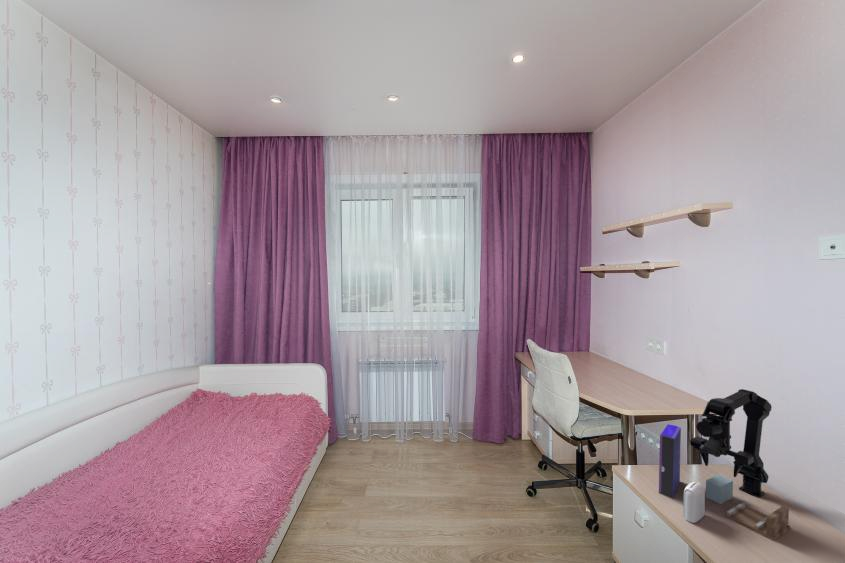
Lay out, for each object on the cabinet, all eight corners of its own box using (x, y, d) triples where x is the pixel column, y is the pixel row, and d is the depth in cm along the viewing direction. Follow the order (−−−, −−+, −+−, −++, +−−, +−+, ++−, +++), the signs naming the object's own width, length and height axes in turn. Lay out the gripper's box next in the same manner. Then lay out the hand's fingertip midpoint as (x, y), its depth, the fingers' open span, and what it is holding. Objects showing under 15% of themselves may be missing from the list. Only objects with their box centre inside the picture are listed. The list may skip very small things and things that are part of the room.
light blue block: (718, 491, 146) (718, 474, 146) (732, 497, 142) (733, 480, 142) (705, 497, 142) (706, 480, 142) (720, 504, 137) (720, 486, 137)
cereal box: (666, 477, 156) (667, 423, 156) (679, 481, 153) (680, 427, 153) (658, 493, 144) (659, 435, 144) (672, 498, 140) (674, 439, 141)
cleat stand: (740, 505, 136) (740, 488, 137) (790, 528, 124) (790, 508, 124) (723, 515, 130) (723, 497, 130) (773, 540, 118) (774, 520, 118)
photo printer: (692, 509, 134) (693, 477, 134) (706, 515, 130) (706, 482, 130) (681, 518, 128) (681, 485, 128) (695, 525, 124) (696, 490, 125)
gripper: (683, 427, 143) (683, 465, 143) (741, 446, 127) (741, 489, 127) (697, 422, 148) (697, 458, 148) (754, 440, 132) (754, 480, 132)
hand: (720, 471), depth 139 cm, fingers open, 9 cm apart
